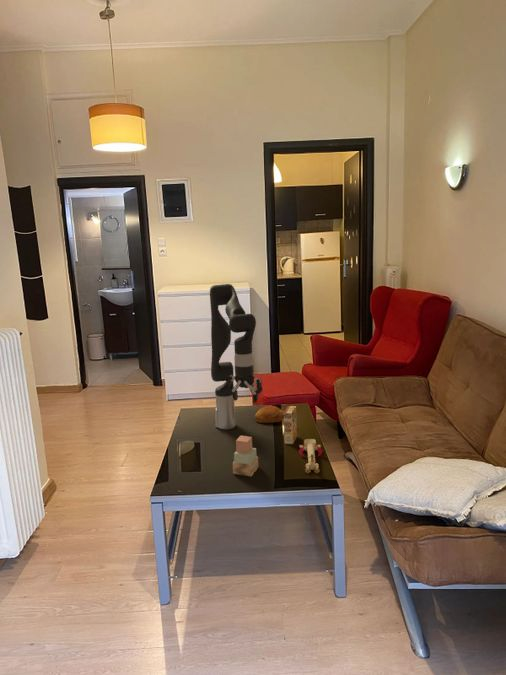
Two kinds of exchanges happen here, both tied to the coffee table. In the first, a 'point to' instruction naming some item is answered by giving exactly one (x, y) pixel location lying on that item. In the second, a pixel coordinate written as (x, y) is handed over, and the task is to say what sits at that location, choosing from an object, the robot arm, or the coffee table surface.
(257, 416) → the bread roll
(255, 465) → the oak block
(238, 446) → the terracotta cube
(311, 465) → the beige elongated piece
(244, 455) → the sage block
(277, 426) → the coffee table surface
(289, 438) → the candy box
